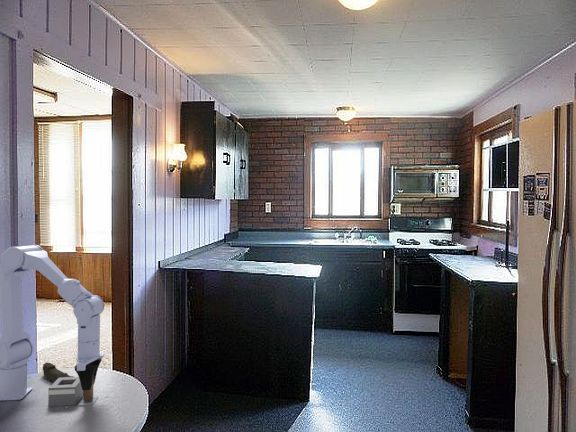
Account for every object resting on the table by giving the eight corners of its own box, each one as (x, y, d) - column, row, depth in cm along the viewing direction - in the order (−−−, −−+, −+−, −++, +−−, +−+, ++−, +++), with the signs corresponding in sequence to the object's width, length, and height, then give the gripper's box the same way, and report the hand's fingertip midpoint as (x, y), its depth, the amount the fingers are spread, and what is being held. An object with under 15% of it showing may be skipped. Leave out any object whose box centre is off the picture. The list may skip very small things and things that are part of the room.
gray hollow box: (48, 406, 122) (48, 388, 122) (58, 394, 130) (58, 377, 130) (74, 405, 123) (75, 387, 123) (83, 393, 131) (84, 376, 131)
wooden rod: (81, 401, 123) (82, 369, 123) (84, 397, 126) (85, 366, 126) (91, 401, 124) (92, 369, 124) (94, 397, 126) (94, 366, 126)
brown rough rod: (77, 388, 135) (77, 373, 135) (63, 392, 132) (63, 376, 132) (52, 373, 148) (53, 359, 148) (40, 376, 145) (40, 362, 145)
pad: (77, 406, 122) (77, 405, 122) (83, 398, 127) (83, 397, 127) (92, 405, 123) (92, 404, 123) (97, 398, 128) (97, 397, 128)
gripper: (96, 346, 118) (96, 397, 118) (109, 332, 133) (109, 377, 133) (68, 347, 117) (68, 398, 117) (85, 333, 132) (84, 378, 132)
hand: (88, 387), depth 125 cm, fingers closed on wooden rod, 3 cm apart
